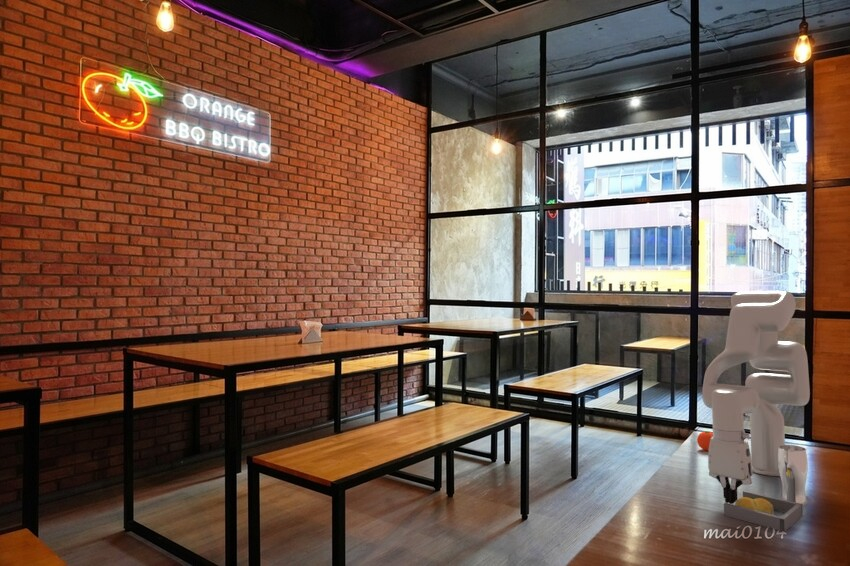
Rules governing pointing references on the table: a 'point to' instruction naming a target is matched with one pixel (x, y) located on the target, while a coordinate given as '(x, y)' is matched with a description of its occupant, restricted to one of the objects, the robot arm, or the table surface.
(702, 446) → the clementine
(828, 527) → the table surface
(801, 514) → the frame
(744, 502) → the bread roll
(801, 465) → the beer glass
